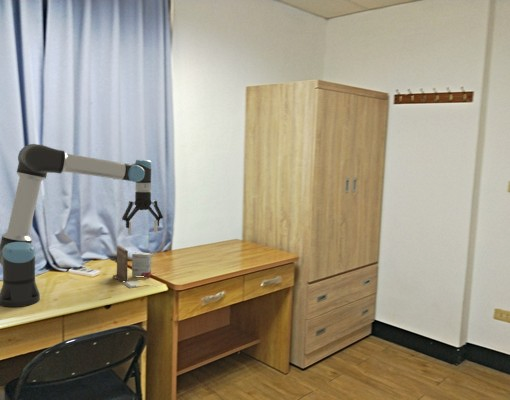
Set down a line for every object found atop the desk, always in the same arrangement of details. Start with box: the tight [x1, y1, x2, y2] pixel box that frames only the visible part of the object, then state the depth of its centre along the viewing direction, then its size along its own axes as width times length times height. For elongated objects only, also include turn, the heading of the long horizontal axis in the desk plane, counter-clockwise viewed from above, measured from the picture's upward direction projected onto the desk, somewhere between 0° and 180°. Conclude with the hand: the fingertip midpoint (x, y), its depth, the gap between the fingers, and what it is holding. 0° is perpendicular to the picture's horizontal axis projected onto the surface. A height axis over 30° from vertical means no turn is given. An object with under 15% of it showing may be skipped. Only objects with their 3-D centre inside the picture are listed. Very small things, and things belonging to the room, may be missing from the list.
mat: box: [122, 279, 141, 289], centre depth 220 cm, size 10×10×1 cm
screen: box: [112, 245, 129, 283], centre depth 227 cm, size 3×12×15 cm, turn 33°
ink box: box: [131, 251, 152, 279], centre depth 233 cm, size 9×5×12 cm, turn 84°
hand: (142, 233), depth 232 cm, fingers open, 13 cm apart
